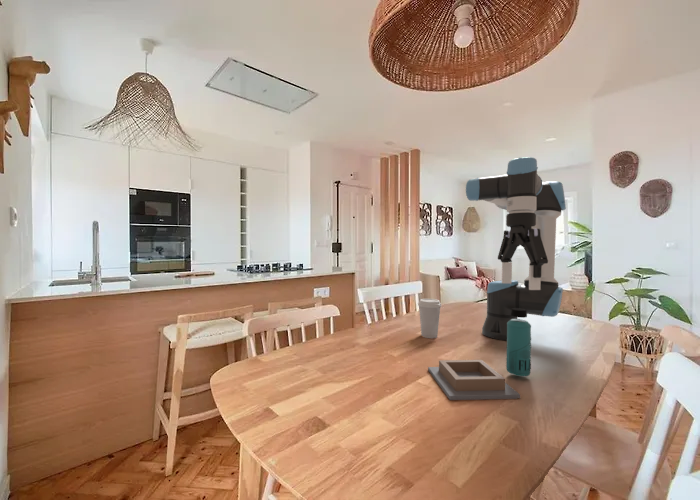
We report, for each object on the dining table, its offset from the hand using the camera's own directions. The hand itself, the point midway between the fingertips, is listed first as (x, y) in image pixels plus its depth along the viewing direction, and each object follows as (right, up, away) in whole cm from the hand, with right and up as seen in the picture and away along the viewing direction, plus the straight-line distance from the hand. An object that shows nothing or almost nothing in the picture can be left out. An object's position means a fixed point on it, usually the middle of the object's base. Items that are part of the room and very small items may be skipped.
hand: (519, 286), depth 91 cm
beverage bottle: (0, -27, +1) cm, 27 cm away
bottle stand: (-16, -27, -3) cm, 31 cm away
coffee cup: (-16, -26, +40) cm, 50 cm away
